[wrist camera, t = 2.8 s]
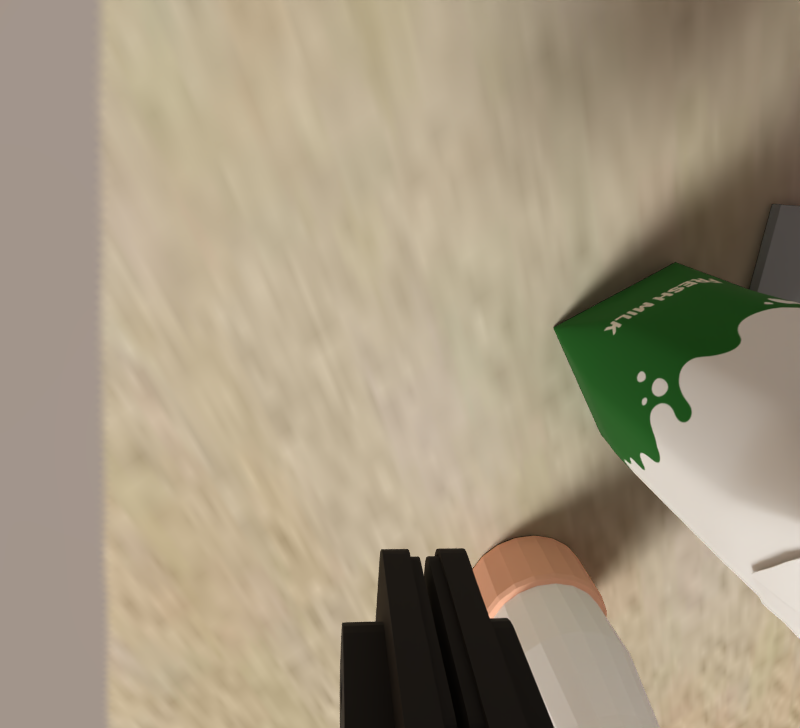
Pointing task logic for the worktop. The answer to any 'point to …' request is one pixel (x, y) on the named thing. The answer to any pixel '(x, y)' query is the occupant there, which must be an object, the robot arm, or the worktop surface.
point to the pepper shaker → (564, 634)
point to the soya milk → (705, 414)
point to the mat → (780, 255)
